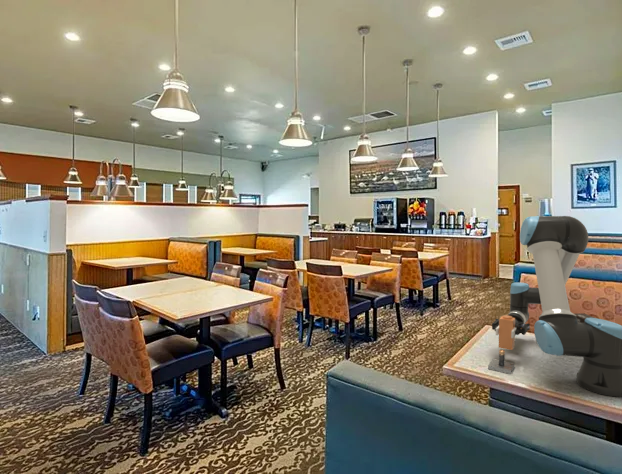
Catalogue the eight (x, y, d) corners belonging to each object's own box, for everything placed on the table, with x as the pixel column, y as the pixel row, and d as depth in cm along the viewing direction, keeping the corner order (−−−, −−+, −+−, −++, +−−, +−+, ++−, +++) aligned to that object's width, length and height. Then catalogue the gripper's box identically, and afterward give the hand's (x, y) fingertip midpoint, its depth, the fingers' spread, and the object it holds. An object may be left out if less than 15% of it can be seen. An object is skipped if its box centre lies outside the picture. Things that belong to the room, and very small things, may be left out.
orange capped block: (514, 346, 156) (515, 316, 155) (512, 350, 152) (513, 318, 151) (501, 344, 159) (501, 314, 158) (498, 347, 155) (499, 316, 154)
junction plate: (514, 367, 149) (515, 349, 148) (510, 374, 142) (511, 356, 142) (492, 362, 154) (493, 345, 153) (488, 368, 147) (488, 351, 147)
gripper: (538, 332, 164) (529, 347, 146) (492, 325, 175) (480, 338, 156) (538, 315, 164) (530, 328, 145) (493, 309, 175) (480, 320, 156)
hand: (504, 333), depth 151 cm, fingers closed on orange capped block, 5 cm apart
